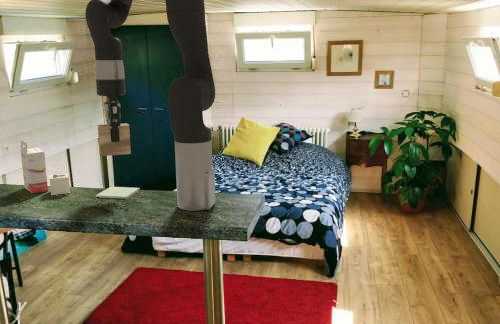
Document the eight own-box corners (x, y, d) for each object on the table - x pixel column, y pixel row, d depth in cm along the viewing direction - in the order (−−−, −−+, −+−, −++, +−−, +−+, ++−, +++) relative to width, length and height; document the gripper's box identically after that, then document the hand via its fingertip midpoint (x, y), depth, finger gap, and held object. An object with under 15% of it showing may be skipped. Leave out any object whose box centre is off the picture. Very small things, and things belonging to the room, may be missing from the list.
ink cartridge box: (49, 191, 142) (44, 141, 138) (31, 194, 139) (25, 143, 135) (41, 185, 148) (36, 137, 145) (24, 187, 145) (18, 139, 142)
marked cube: (70, 194, 139) (68, 176, 137) (51, 196, 137) (49, 178, 136) (69, 189, 143) (68, 172, 142) (51, 191, 141) (49, 174, 140)
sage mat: (139, 189, 142) (139, 187, 142) (126, 198, 133) (126, 196, 133) (110, 188, 143) (110, 186, 143) (95, 197, 135) (95, 195, 135)
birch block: (130, 153, 135) (129, 125, 134) (100, 156, 132) (98, 126, 131) (128, 151, 139) (127, 123, 137) (99, 153, 136) (97, 124, 134)
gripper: (128, 78, 126) (132, 143, 130) (121, 76, 139) (124, 135, 143) (97, 79, 123) (102, 145, 127) (93, 76, 136) (98, 137, 140)
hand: (114, 140), depth 135 cm, fingers closed on birch block, 4 cm apart
